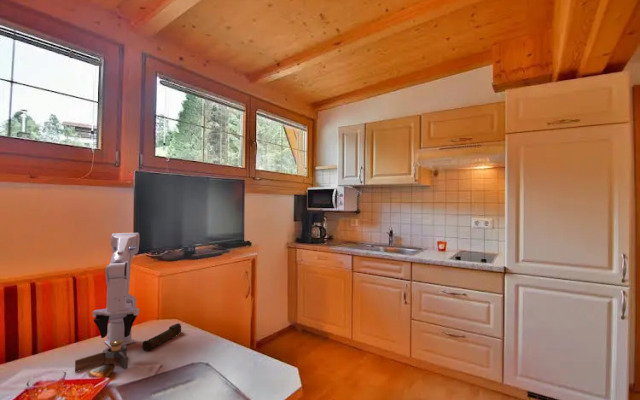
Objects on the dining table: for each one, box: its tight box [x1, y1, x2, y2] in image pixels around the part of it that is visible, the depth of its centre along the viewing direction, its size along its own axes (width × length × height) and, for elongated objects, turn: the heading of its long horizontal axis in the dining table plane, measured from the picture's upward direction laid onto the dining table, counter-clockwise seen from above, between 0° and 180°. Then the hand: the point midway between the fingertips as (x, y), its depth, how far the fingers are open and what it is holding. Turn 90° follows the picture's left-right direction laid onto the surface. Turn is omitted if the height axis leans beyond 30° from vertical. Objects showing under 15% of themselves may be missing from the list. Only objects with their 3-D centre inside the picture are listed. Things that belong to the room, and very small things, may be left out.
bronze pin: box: [110, 339, 123, 352], centre depth 105 cm, size 4×4×6 cm
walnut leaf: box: [74, 350, 128, 373], centre depth 103 cm, size 6×14×4 cm, turn 141°
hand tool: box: [141, 322, 182, 352], centre depth 121 cm, size 19×4×5 cm, turn 164°
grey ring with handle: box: [102, 345, 129, 370], centre depth 103 cm, size 14×6×4 cm, turn 50°
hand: (115, 336), depth 106 cm, fingers open, 7 cm apart
